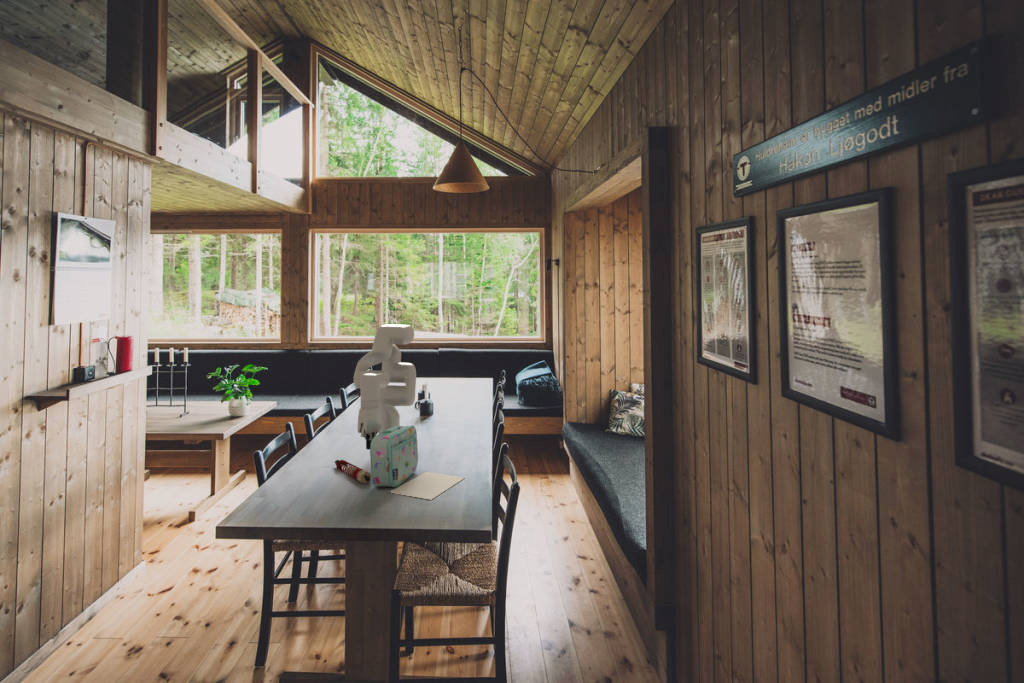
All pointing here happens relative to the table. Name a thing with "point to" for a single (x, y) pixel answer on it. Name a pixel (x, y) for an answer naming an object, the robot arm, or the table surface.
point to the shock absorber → (353, 471)
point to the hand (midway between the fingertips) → (370, 448)
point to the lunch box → (393, 455)
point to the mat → (427, 485)
